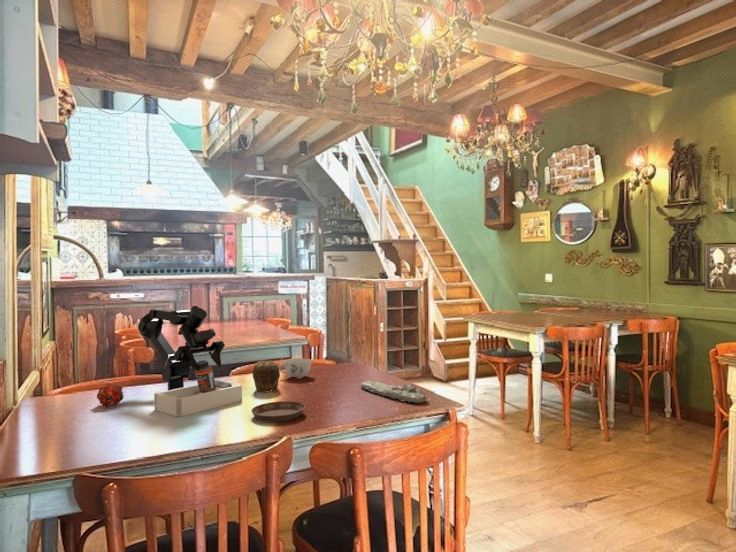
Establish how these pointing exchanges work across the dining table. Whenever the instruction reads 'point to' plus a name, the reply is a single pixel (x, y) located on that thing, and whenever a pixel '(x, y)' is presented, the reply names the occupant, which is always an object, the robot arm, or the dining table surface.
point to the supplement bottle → (205, 377)
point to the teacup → (296, 367)
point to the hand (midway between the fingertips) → (209, 368)
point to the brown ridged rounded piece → (266, 375)
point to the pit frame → (194, 399)
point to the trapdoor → (219, 385)
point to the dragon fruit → (110, 395)
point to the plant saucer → (278, 411)
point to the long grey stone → (395, 391)
